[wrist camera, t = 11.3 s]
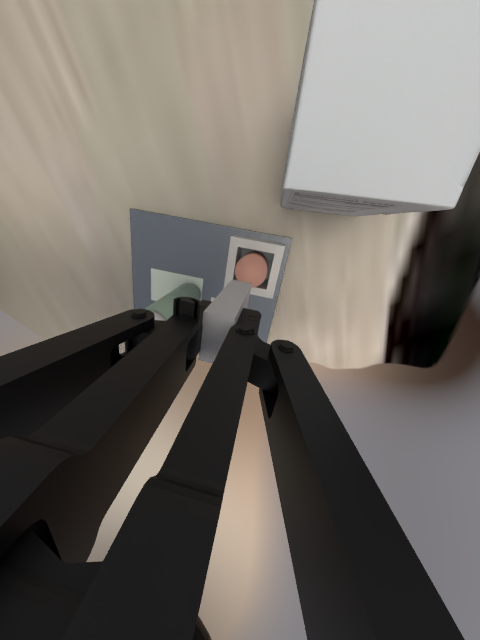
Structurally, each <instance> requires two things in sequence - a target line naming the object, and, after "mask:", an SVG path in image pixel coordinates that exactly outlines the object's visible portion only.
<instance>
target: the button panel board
mask: <svg viewBox="0 0 480 640" xmlns="http://www.w3.org/2000/svg"><path fill="white" fill-rule="evenodd" d="M130 225H131V247H132V270H133V293H134V309H145V308H146V307H148V306H149V305H151V304H153V303H154V302H156V301H157V300H159V299H160V298H162V297H163V296H165V295H166V294H168V293H169V292H171V291H172V290H174V289H175V288H177V287H178V286H180V285H181V284H184V283H192V284H195V285H196V286H197V287H198V288H199V289H200V292H201V298H200V301H201V300H207V301H213V300H214V299H215V298H216V297H217V296H218V295H219V294H220V292H221V291H222V290H223V289H224V288H225V287H226V286H227V284H228V283H229V282H230V281H231V280H237V278H236V275H235V268H236V265H237V263H238V261H239V260H240V259H241V258H242V257H244V256H245V255H246V254H247V253H249V252H254V251H255V252H259V253H261V254H263V255H264V256H265V257H266V259H267V261H268V270H267V274H266V278H265V280H264V281H263V283H262V284H260V285H259V286H257V287H253V288H251V291H250V296H249V301H248V306H247V309H251V310H256V311H259V312H260V313H261V315H262V316H261V320H260V325H259V330H258V337H259V338H260V339H261V340H262V341H264V342H265V343H266V342H267V338H268V334H269V330H270V326H271V322H272V318H273V314H274V310H275V306H276V302H277V298H278V294H279V290H280V286H281V282H282V278H283V274H284V270H285V266H286V261H287V257H288V253H289V249H290V245H291V241H292V238H288V237H283V236H277V235H272V234H266V233H261V232H256V231H250V230H245V229H239V228H234V227H229V226H223V225H218V224H212V223H207V222H202V221H196V220H191V219H185V218H180V217H175V216H169V215H164V214H158V213H153V212H147V211H142V210H137V209H130ZM237 281H238V280H237Z"/></svg>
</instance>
